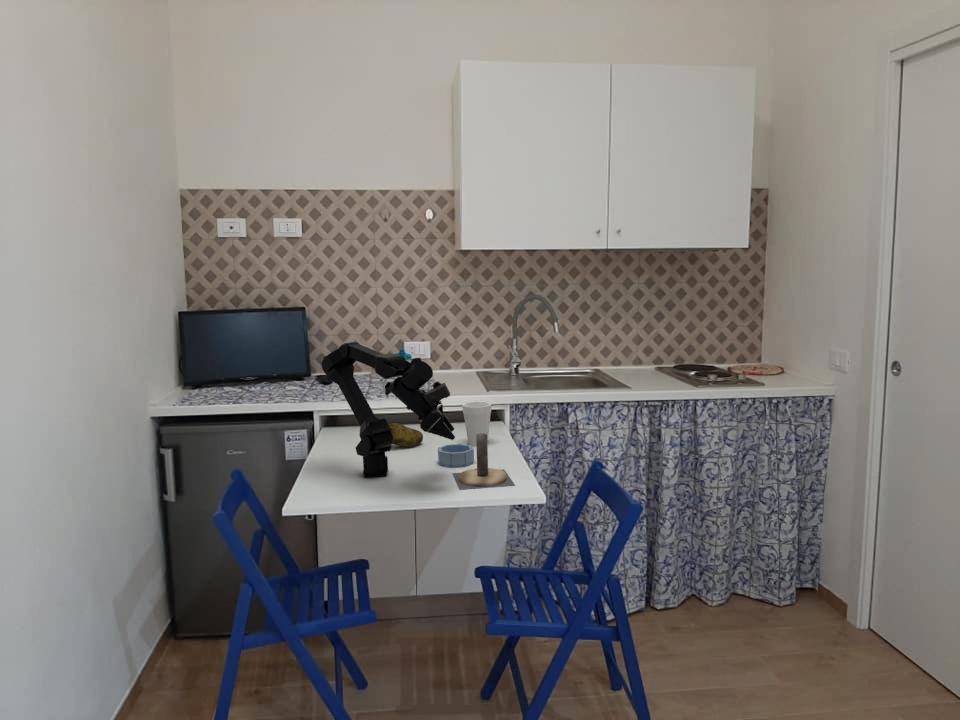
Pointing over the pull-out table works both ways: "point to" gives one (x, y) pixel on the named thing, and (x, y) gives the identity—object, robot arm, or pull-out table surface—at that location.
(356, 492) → the pull-out table surface
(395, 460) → the pull-out table surface
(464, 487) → the mat
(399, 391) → the robot arm
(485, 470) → the paper towel holder
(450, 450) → the bowl
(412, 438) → the potato
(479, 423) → the foam cup
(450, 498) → the pull-out table surface
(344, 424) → the pull-out table surface
